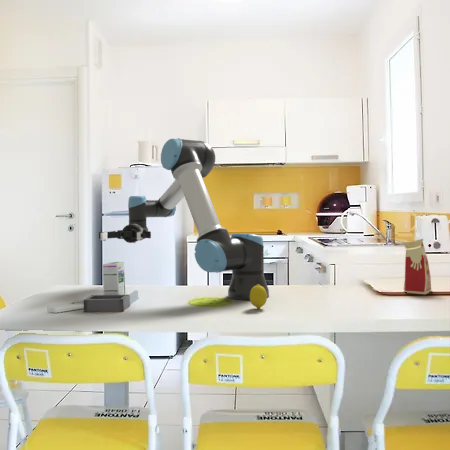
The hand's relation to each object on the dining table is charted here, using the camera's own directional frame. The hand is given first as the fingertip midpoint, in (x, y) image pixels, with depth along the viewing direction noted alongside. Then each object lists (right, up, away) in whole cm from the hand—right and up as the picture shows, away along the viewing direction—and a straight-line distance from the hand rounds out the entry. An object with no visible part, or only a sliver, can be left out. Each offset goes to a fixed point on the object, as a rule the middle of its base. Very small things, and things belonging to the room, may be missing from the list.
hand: (119, 236), depth 182 cm
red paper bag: (+111, -21, +2) cm, 113 cm away
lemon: (+50, -23, -24) cm, 60 cm away
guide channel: (0, -23, -7) cm, 24 cm away
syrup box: (0, -24, -9) cm, 25 cm away
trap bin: (0, -24, -19) cm, 30 cm away
